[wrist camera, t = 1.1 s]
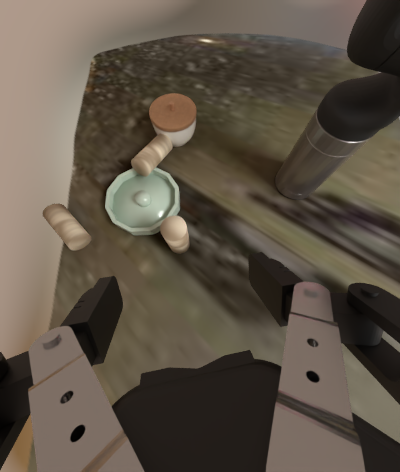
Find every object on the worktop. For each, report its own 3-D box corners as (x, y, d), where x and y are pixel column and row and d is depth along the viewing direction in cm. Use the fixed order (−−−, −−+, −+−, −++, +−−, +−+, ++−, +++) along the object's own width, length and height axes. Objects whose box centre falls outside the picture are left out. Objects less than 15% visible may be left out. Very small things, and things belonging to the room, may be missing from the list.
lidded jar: (150, 130, 51) (140, 94, 42) (187, 117, 52) (184, 80, 43) (165, 159, 48) (157, 128, 39) (203, 145, 49) (204, 111, 40)
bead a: (175, 230, 42) (168, 211, 32) (193, 239, 41) (191, 222, 32) (165, 247, 41) (155, 232, 31) (183, 257, 40) (178, 244, 31)
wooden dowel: (63, 217, 44) (88, 246, 42) (41, 220, 40) (67, 253, 38) (67, 202, 42) (93, 232, 40) (43, 204, 38) (71, 237, 36)
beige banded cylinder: (150, 179, 42) (173, 153, 47) (146, 163, 38) (172, 137, 43) (133, 172, 43) (158, 147, 48) (128, 155, 39) (155, 130, 44)
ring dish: (135, 164, 47) (131, 156, 45) (191, 189, 45) (191, 182, 42) (96, 215, 43) (90, 210, 40) (156, 247, 41) (153, 243, 38)
